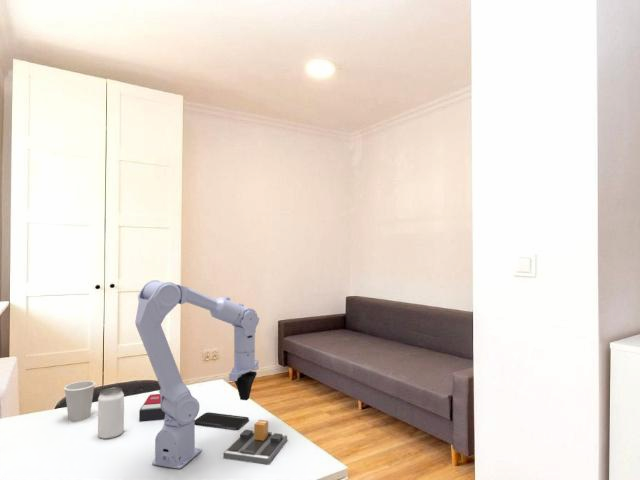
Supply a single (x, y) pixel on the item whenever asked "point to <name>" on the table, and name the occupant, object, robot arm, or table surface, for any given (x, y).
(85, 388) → the dixie cup
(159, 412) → the red and black box
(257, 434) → the handle
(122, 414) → the can
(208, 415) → the phone
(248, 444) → the panel
